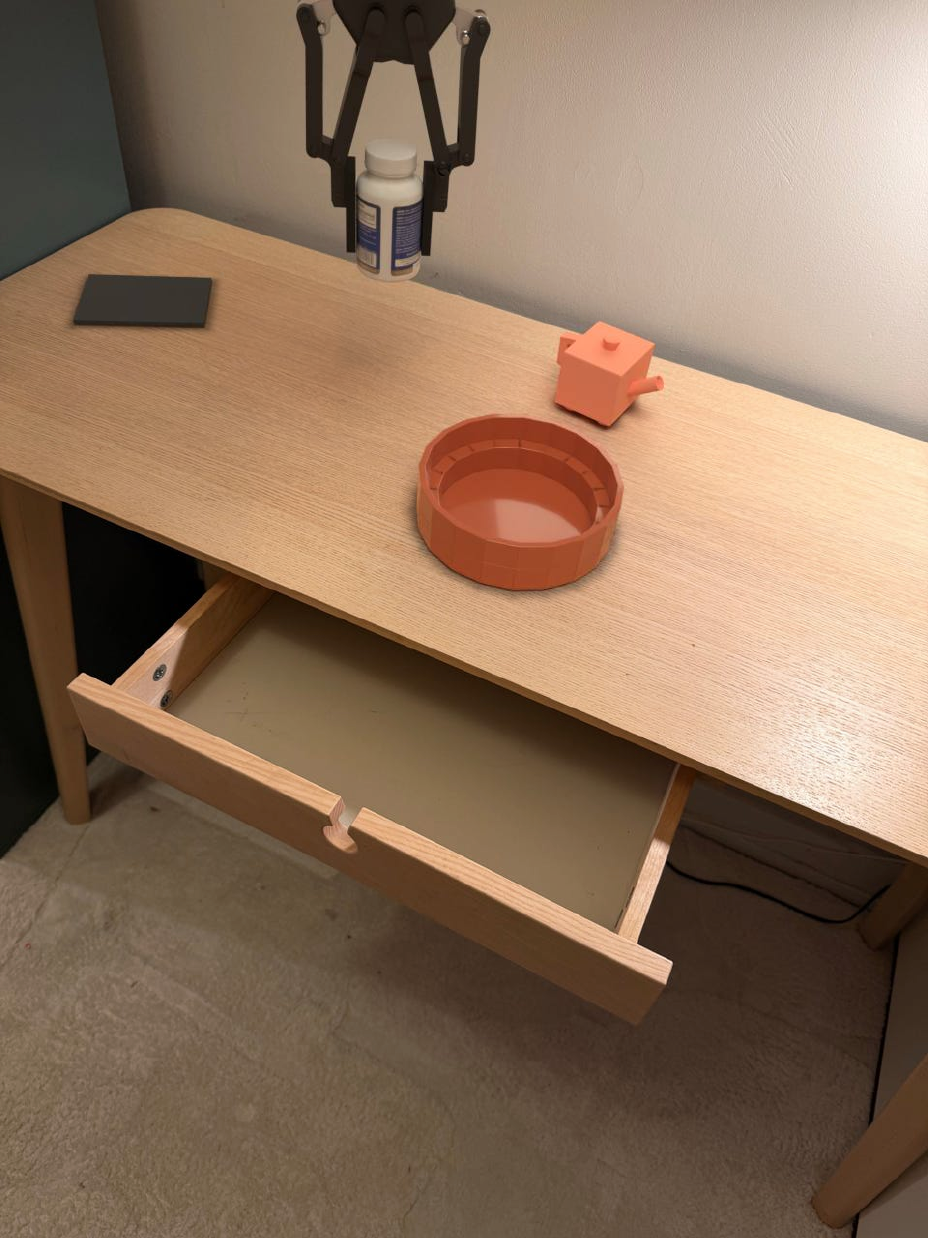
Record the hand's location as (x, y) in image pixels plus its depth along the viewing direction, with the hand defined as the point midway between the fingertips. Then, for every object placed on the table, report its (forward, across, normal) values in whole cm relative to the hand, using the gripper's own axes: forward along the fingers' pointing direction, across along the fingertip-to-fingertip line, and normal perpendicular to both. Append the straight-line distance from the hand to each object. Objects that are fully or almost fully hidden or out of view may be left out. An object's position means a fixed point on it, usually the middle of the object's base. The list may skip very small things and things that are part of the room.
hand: (388, 245), depth 76 cm
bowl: (+21, -12, +11) cm, 26 cm away
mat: (+21, +27, -25) cm, 42 cm away
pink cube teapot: (+21, -24, -7) cm, 32 cm away
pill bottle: (+2, 0, 0) cm, 2 cm away
